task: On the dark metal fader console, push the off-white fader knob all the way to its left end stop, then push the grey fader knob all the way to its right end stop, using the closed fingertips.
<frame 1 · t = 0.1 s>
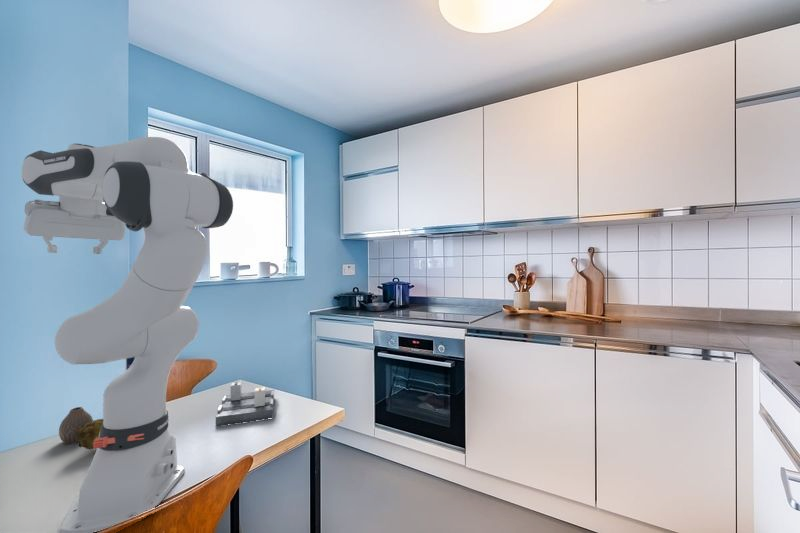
hand: (75, 252, 95), 52 cm above the table, tool tilted 20°, fingers open, 8 cm apart
potato: (108, 447, 90), on the table
beverage box: (139, 418, 107), on the table
console: (247, 411, 112), on the table
fader2: (236, 390, 115), point 6 cm above the table, slide at 4.0 cm
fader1: (259, 396, 110), point 6 cm above the table, slide at -4.0 cm
vase: (76, 440, 93), on the table
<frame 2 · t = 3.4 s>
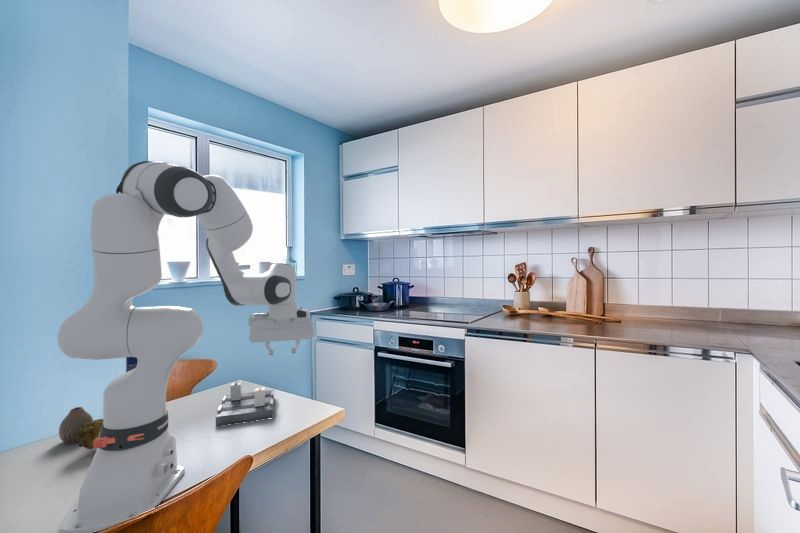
hand: (282, 353, 112), 19 cm above the table, tool pointing down, fingers open, 6 cm apart
nothing on the table moved.
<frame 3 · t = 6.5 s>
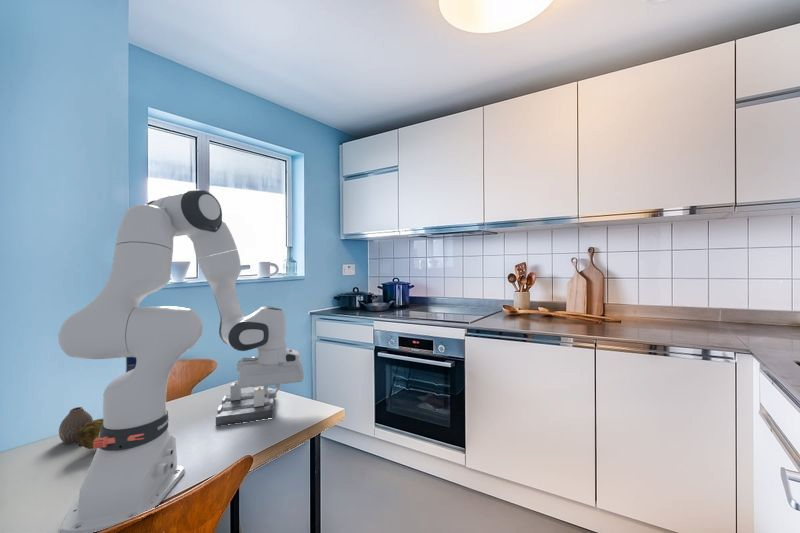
hand: (271, 397, 111), 5 cm above the table, tool pointing down, fingers closed
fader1: (259, 396, 110), point 6 cm above the table, slide at -3.8 cm, touching gripper
everything else where it was.
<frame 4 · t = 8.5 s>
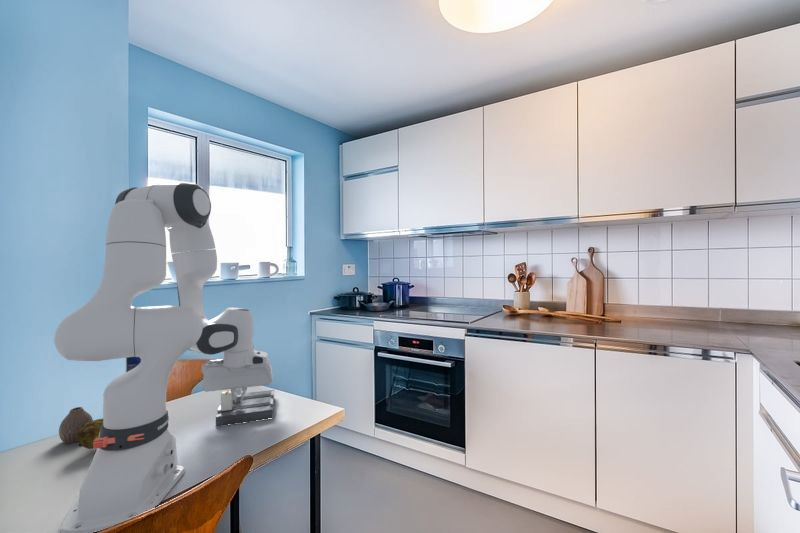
hand: (239, 401, 108), 5 cm above the table, tool pointing down, fingers closed
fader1: (227, 400, 107), point 6 cm above the table, slide at 5.6 cm, touching gripper
everything else where it was.
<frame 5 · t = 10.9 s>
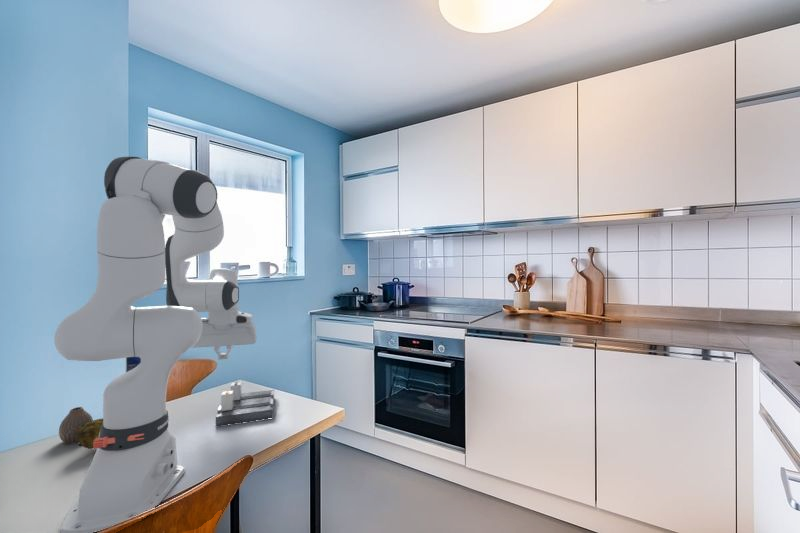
hand: (223, 359, 112), 17 cm above the table, tool pointing down, fingers closed
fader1: (227, 400, 107), point 6 cm above the table, slide at 5.5 cm
everything else where it was.
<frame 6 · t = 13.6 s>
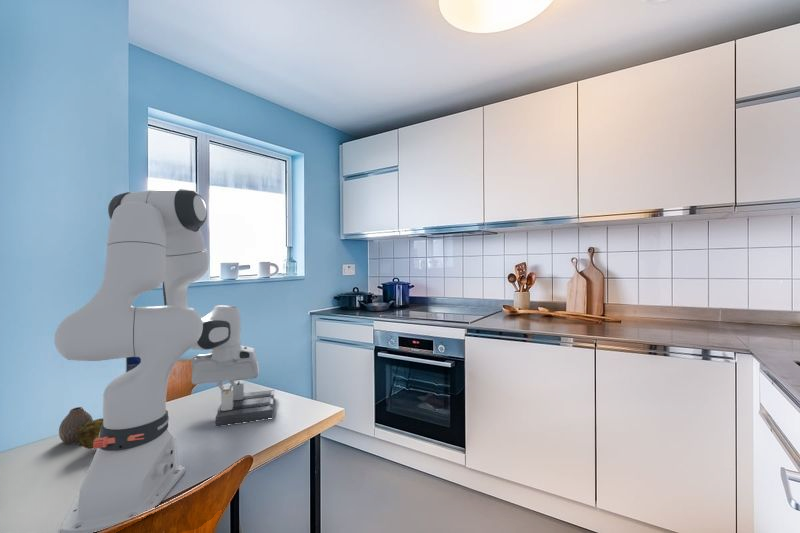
hand: (226, 393, 114), 5 cm above the table, tool pointing down, fingers closed
fader2: (238, 390, 115), point 6 cm above the table, slide at 3.2 cm, touching gripper
everything else where it was.
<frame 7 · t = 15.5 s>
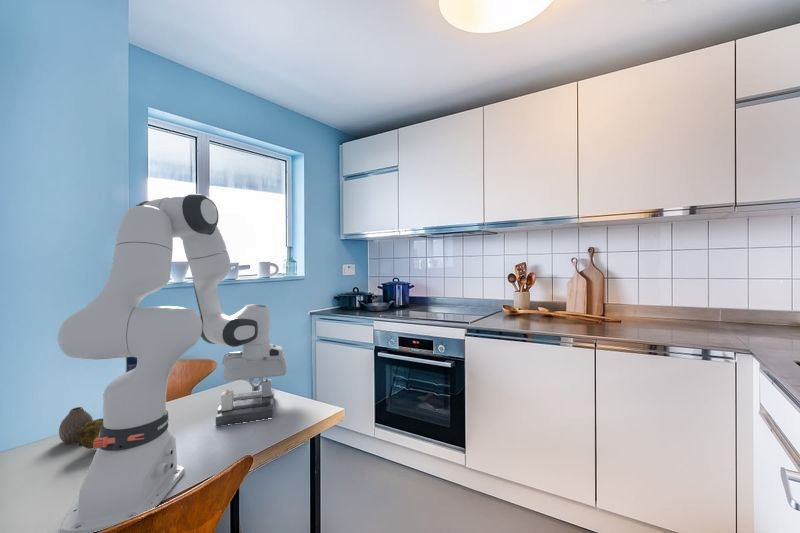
hand: (256, 390, 117), 5 cm above the table, tool pointing down, fingers closed
fader2: (266, 387, 118), point 6 cm above the table, slide at -5.7 cm, touching gripper
everything else where it was.
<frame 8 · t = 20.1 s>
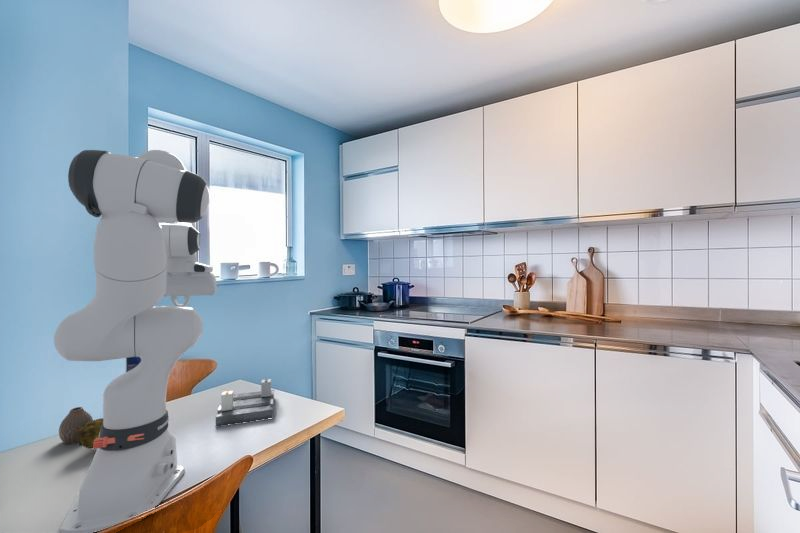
hand: (181, 310, 109), 34 cm above the table, tool pointing down, fingers closed
fader2: (266, 387, 118), point 6 cm above the table, slide at -5.5 cm
everything else where it was.
at the end: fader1 slide at 5.5 cm; fader2 slide at -5.5 cm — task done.
